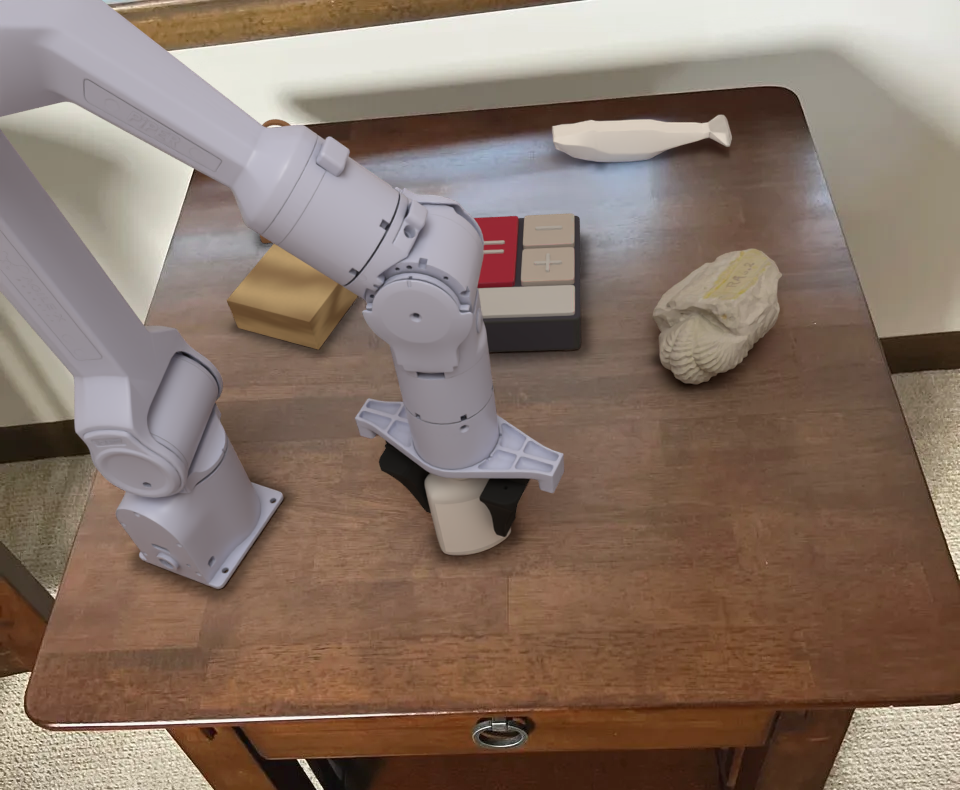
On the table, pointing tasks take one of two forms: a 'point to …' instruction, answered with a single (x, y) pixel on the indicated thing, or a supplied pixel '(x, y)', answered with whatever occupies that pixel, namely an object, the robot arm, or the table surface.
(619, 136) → the toy fish
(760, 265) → the fossil replica
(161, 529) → the robot arm
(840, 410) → the table surface
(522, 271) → the calculator
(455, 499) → the eye dropper bottle
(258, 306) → the maple block
